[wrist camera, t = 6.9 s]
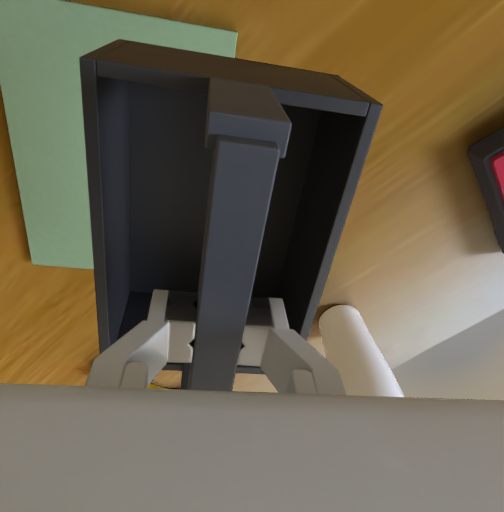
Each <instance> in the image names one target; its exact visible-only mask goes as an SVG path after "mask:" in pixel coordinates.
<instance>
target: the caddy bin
mask: <svg viewBox="0 0 504 512" xmlns="http://www.w3.org/2000/svg"><path fill="white" fill-rule="evenodd" d="M79 65H80V79H81V93H82V107H83V121H84V136H85V150H86V164H87V178H88V192H89V207H90V221H91V235H92V249H93V263H94V277H95V292H96V306H97V320H98V334H99V348H100V354H101V353H102V352H104V351H105V350H106V349H107V348H109V347H110V346H111V345H112V344H114V343H115V342H116V341H117V340H119V339H120V338H121V337H122V336H124V335H125V334H126V333H128V332H129V331H130V330H131V329H133V328H134V327H135V326H136V325H138V324H139V323H140V322H141V321H143V320H144V321H147V318H148V313H149V309H150V304H151V299H152V294H153V291H154V289H160V290H173V291H184V292H194V293H198V299H197V316H196V329H195V339H194V348H193V357H192V363H172V362H167V363H166V365H165V366H164V367H163V368H162V370H177V371H182V380H181V390H207V391H232V389H233V384H234V379H235V374H236V373H248V374H265V373H264V372H263V371H262V369H261V368H260V367H259V366H245V365H237V362H238V357H239V352H240V349H241V344H242V337H243V332H244V327H245V324H246V319H247V314H248V309H249V304H250V299H251V297H262V298H268V297H269V298H282V300H283V303H284V307H285V312H286V316H287V320H288V324H289V329H293V330H295V331H296V332H297V333H298V334H299V335H300V336H301V337H302V338H303V339H305V340H306V341H307V338H308V335H309V332H310V329H311V326H312V323H313V320H314V317H315V314H316V311H317V308H318V304H319V301H320V298H321V295H322V292H323V289H324V286H325V283H326V280H327V277H328V274H329V271H330V268H331V264H332V261H333V258H334V255H335V252H336V249H337V246H338V243H339V240H340V237H341V234H342V231H343V227H344V224H345V221H346V218H347V215H348V212H349V209H350V206H351V203H352V200H353V197H354V194H355V191H356V187H357V184H358V181H359V178H360V175H361V172H362V169H363V166H364V163H365V160H366V157H367V154H368V150H369V147H370V144H371V141H372V138H373V135H374V132H375V129H376V126H377V123H378V120H379V117H380V113H381V110H382V107H383V105H382V104H381V103H379V102H378V101H376V100H375V99H373V98H372V97H370V96H369V95H367V94H366V93H364V92H362V91H361V90H359V89H358V88H356V87H355V86H353V85H352V84H350V83H349V82H347V81H345V80H344V79H342V78H341V77H339V76H338V75H333V74H327V73H321V72H315V71H309V70H303V69H297V68H291V67H285V66H279V65H273V64H267V63H261V62H255V61H249V60H243V59H237V58H231V57H225V56H219V55H213V54H207V53H201V52H195V51H189V50H183V49H177V48H171V47H165V46H159V45H153V44H147V43H141V42H135V41H129V40H123V39H117V40H115V41H113V42H111V43H109V44H107V45H104V46H102V47H100V48H98V49H96V50H94V51H91V52H89V53H87V54H85V55H83V56H81V57H79Z"/></svg>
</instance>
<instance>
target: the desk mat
mask: <svg viewBox="0 0 504 512" xmlns="http://www.w3.org/2000/svg"><path fill="white" fill-rule="evenodd" d="M237 34H238V33H237V32H236V31H230V30H225V29H220V28H214V27H209V26H203V25H198V24H192V23H187V22H181V21H176V20H170V19H165V18H159V17H154V16H148V15H143V14H137V13H132V12H126V11H121V10H115V9H110V8H104V7H99V6H93V5H88V4H82V3H77V2H71V1H66V0H0V85H1V91H2V97H3V102H4V108H5V114H6V119H7V125H8V131H9V136H10V142H11V148H12V153H13V159H14V165H15V170H16V176H17V182H18V187H19V193H20V199H21V204H22V210H23V215H24V221H25V227H26V232H27V238H28V244H29V249H30V255H31V261H32V264H35V265H47V266H59V267H70V268H82V269H94V263H93V249H92V235H91V221H90V207H89V192H88V178H87V164H86V150H85V136H84V121H83V107H82V93H81V79H80V65H79V57H81V56H83V55H85V54H87V53H89V52H91V51H94V50H96V49H98V48H100V47H102V46H104V45H107V44H109V43H111V42H113V41H115V40H117V39H123V40H129V41H135V42H141V43H147V44H153V45H159V46H165V47H171V48H177V49H183V50H189V51H195V52H201V53H207V54H213V55H219V56H225V57H231V58H235V50H236V42H237Z"/></svg>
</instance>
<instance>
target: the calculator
mask: <svg viewBox="0 0 504 512" xmlns="http://www.w3.org/2000/svg"><path fill="white" fill-rule="evenodd" d="M468 155H469V158H470V161H471V163H472V166H473V169H474V171H475V174H476V177H477V179H478V182H479V185H480V188H481V190H482V193H483V196H484V198H485V201H486V204H487V207H488V209H489V212H490V215H491V217H492V220H493V223H494V225H495V234H496V237H497V239H498V242H499V245H500V247H501V250H502V252H503V253H504V127H503V128H501V129H500V130H498V131H496V132H495V133H493V134H491V135H489V136H488V137H486V138H484V139H482V140H481V141H479V142H477V143H476V144H474V145H472V146H471V147H469V149H468Z"/></svg>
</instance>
